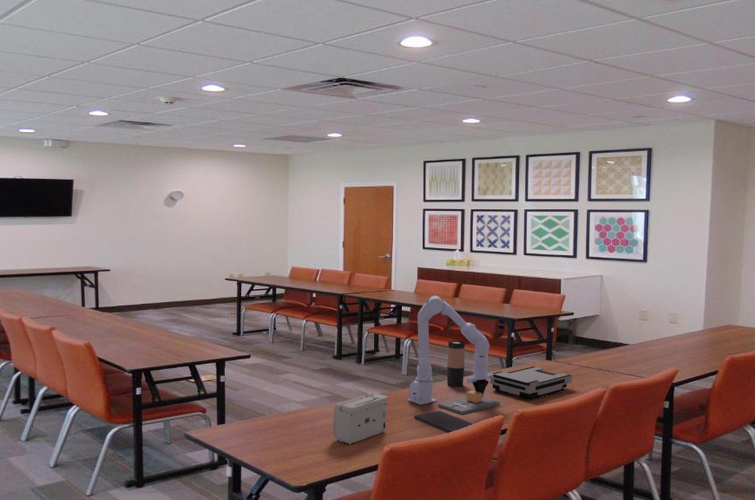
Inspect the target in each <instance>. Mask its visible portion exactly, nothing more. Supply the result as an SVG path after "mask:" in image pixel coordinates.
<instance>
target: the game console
mask: <svg viewBox="0 0 755 500" xmlns="http://www.w3.org/2000/svg"><path fill="white" fill-rule="evenodd" d="M492 374H493V378H490V384H491V385H492V389H494V391H496V392H499V393H502V394H505V393H506V394H513V395H516V396H518V398H520V399H524V400H527V399H529V401H533V399H534V400H537V399H540V398H539V397H541V398H543V397H542V396H545V397H547V396H546V395H548V396H551V395H550V394H552V395H554V394H553V393H555V394H558V393H557V392H559V393H561V391H562V392H564V389H566V388H568V384H571V383H572V382H573V381H572V377H573V375H572V374H567V373H563V372H561V373H560V372H559V373H552V372H548V371H545V370H544V368H541V367H537V366H531V367H526V368H525V367H524V368H522V369H516V370H513V371H508V372H505V371H501V370H500V371H497V372H495V371H494V372H492ZM536 398H537V399H536Z"/></svg>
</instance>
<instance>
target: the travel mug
mask: <svg viewBox="0 0 755 500" xmlns="http://www.w3.org/2000/svg"><path fill="white" fill-rule="evenodd" d="M465 344H466V343H465V341H463V340H457V339H456V340H453V341H450V340H449V341H448V343H447V345H448V346H447V366H446V367H447V368H446V369H447V371H446V372H447V373H446V375H447V378H446V380H447V382H446V384H447V386H449V387H451V388H460V387H463V386H464V378H465V377H464V376H465V375H464V374H465V353H466V352H465Z"/></svg>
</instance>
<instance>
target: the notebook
mask: <svg viewBox="0 0 755 500" xmlns="http://www.w3.org/2000/svg"><path fill="white" fill-rule="evenodd" d="M414 419H415V420H418V421H419V422H422V423H424V424H427V425H429V426H432V427H434V428H437V429H438V430H441V431H443V432H446V433H448V432H452V431H455V430H459V429H461V428H464V427H467V426H469V425H472V424H473V422H469V421H468V420H465V419H461V418H459V417H457V416H454V415H451V414H449V413H446V412H444V411H442V410H436V411H432V412H431V411H430V412H425V413H421V414H416V415H414Z"/></svg>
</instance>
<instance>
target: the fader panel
mask: <svg viewBox="0 0 755 500" xmlns="http://www.w3.org/2000/svg"><path fill="white" fill-rule="evenodd" d="M437 406H438V408H440V409H444V410H447V411H449V412H450V411H451V412H454V413H456V414H458V415H465V414H466V415H467V414H470V413H473V412H477V411H482V410H484V409H485V410H486V409H489V408H493V407H496V406H500V401H498V400H494V399H491V398H488V397H485V396H483V397H482V401H481V402H477V403H474V402H471V401H468V400H466V396H465V397H461V398H457V399H452V400H448V401H444V402H440V403H438V404H437Z"/></svg>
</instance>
